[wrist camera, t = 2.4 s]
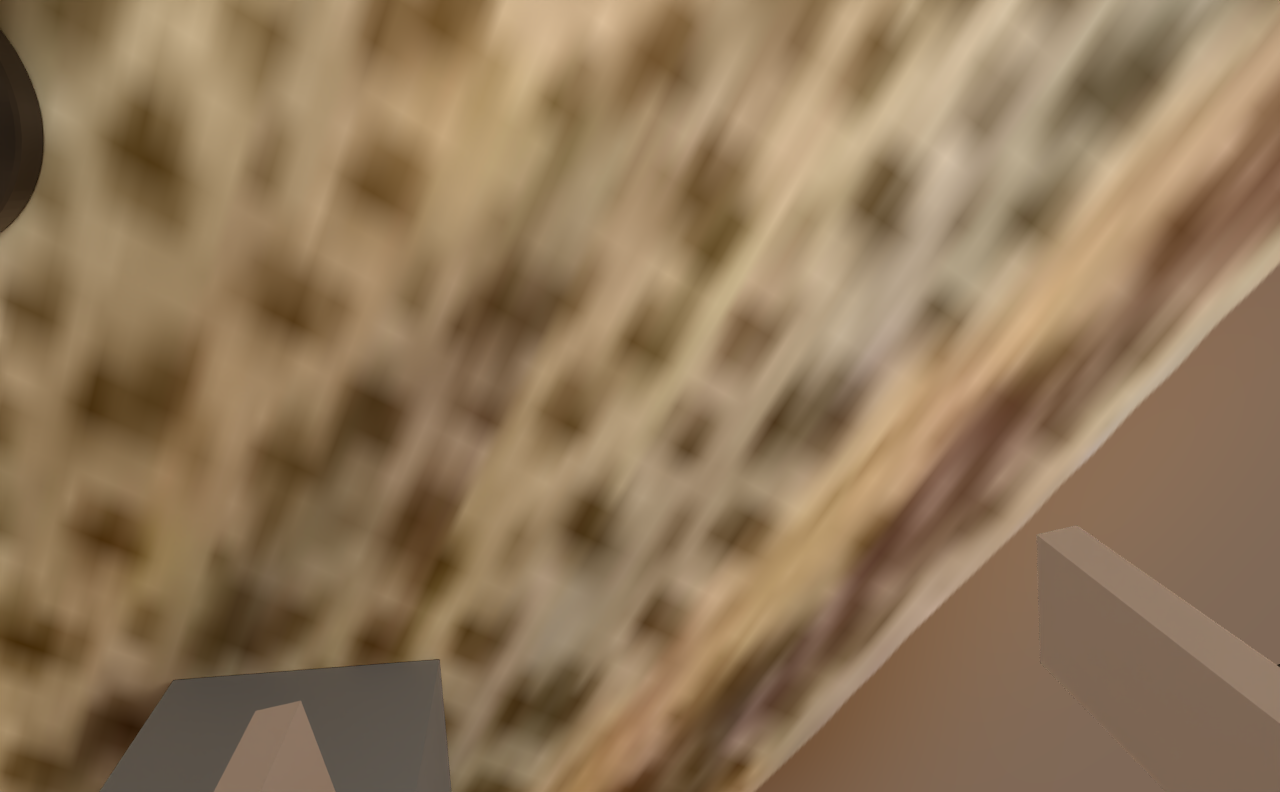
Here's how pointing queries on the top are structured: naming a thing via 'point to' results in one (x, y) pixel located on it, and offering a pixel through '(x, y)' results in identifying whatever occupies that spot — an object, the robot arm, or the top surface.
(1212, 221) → the top surface
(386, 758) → the slate podium
